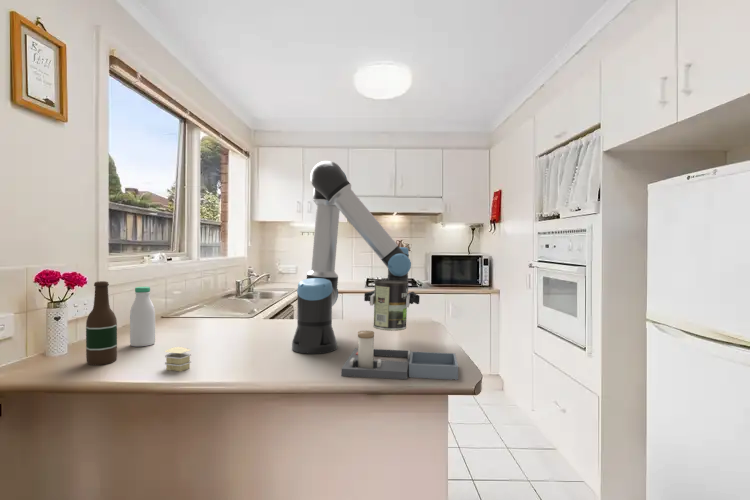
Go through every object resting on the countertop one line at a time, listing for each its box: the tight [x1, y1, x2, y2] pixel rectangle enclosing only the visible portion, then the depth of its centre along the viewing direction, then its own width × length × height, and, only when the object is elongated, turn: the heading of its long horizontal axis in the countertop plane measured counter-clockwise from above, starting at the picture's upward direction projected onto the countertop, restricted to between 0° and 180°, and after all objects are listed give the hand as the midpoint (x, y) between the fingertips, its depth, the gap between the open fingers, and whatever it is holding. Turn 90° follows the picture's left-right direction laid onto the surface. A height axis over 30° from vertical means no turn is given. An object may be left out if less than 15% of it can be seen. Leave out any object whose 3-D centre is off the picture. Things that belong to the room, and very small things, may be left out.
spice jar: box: [357, 330, 375, 369], centre depth 120 cm, size 5×5×11 cm
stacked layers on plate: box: [164, 346, 192, 372], centre depth 122 cm, size 10×9×6 cm
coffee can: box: [373, 279, 409, 332], centre depth 130 cm, size 10×10×14 cm
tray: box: [408, 350, 459, 381], centre depth 122 cm, size 13×13×4 cm
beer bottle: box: [85, 280, 118, 366], centre depth 126 cm, size 8×8×24 cm
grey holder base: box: [340, 347, 411, 380], centre depth 126 cm, size 18×22×3 cm
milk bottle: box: [129, 286, 156, 348], centre depth 148 cm, size 8×8×20 cm
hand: (389, 301), depth 126 cm, fingers closed on coffee can, 10 cm apart
